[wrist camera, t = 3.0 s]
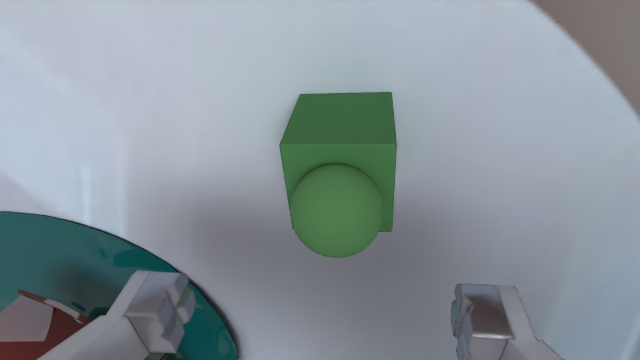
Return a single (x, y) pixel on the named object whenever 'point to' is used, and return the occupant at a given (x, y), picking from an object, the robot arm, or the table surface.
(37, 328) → the boat on round base
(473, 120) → the table surface
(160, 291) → the robot arm
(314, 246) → the green toy
